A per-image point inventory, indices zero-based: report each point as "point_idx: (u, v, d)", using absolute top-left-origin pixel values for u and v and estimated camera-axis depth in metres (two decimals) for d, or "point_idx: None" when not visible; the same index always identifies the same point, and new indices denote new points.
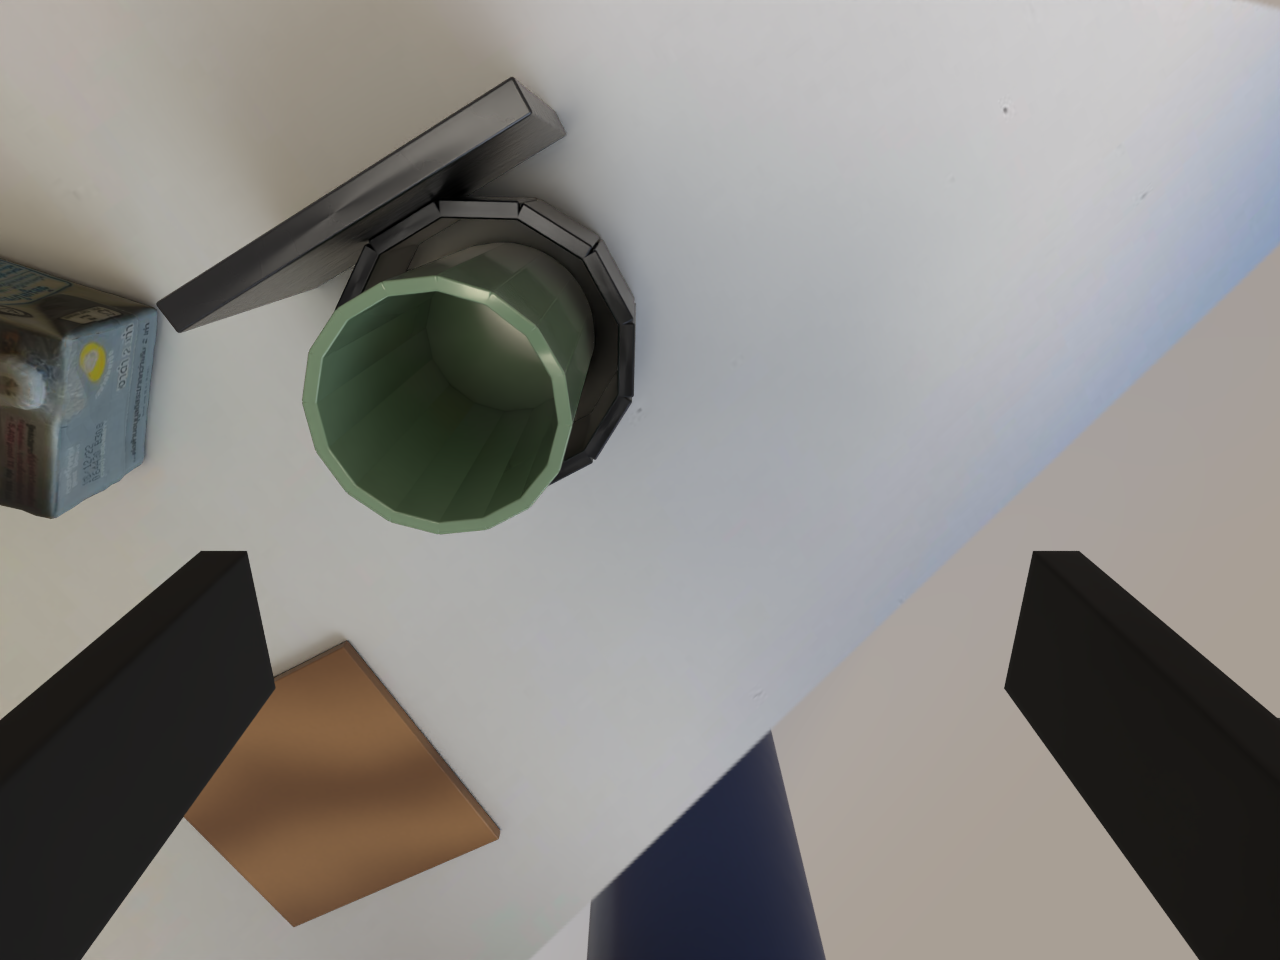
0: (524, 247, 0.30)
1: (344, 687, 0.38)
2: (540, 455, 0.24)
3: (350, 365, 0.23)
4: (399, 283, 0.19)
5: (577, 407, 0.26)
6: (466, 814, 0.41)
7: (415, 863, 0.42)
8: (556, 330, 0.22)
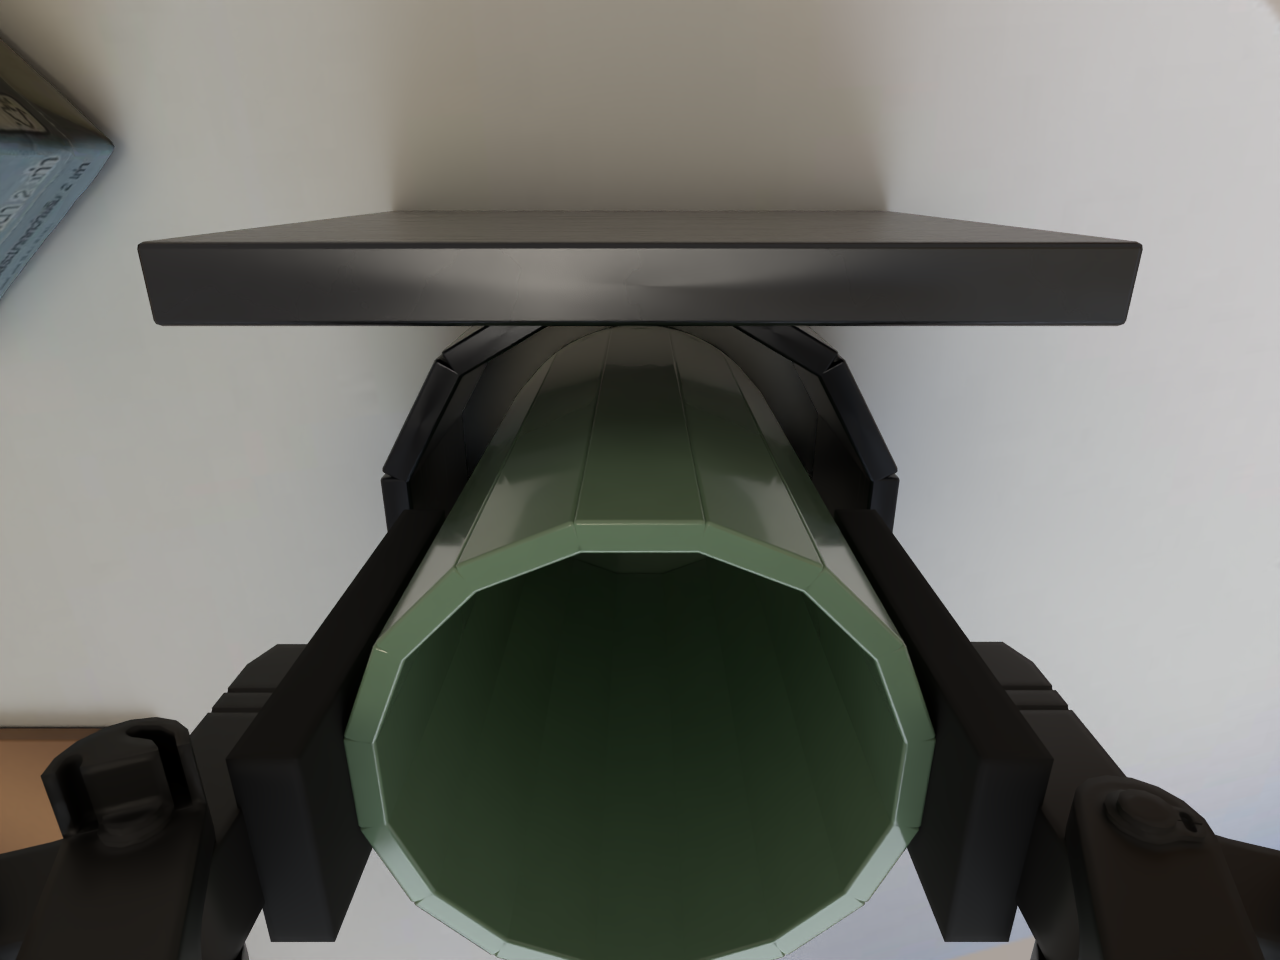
0: (741, 372, 0.19)
1: None
2: (699, 807, 0.13)
3: None
4: (741, 544, 0.08)
5: None
6: None
7: None
8: None
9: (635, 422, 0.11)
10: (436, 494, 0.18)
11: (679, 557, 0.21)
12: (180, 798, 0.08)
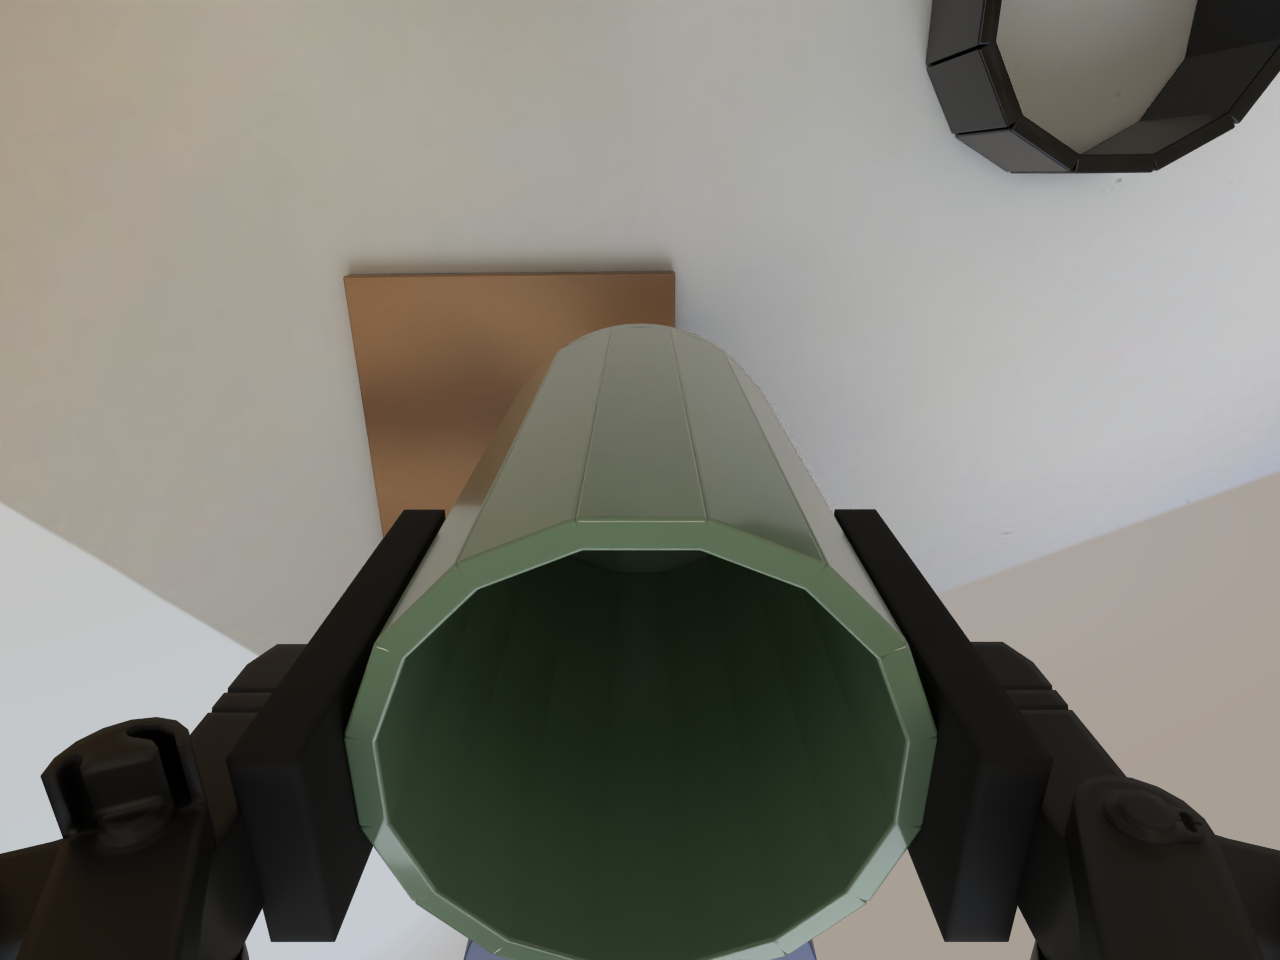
0: (742, 370, 0.19)
1: (642, 319, 0.33)
2: (700, 806, 0.13)
3: None
4: (743, 542, 0.08)
5: None
6: None
7: None
8: None
9: (636, 420, 0.11)
10: None
11: (679, 556, 0.21)
12: (180, 798, 0.08)
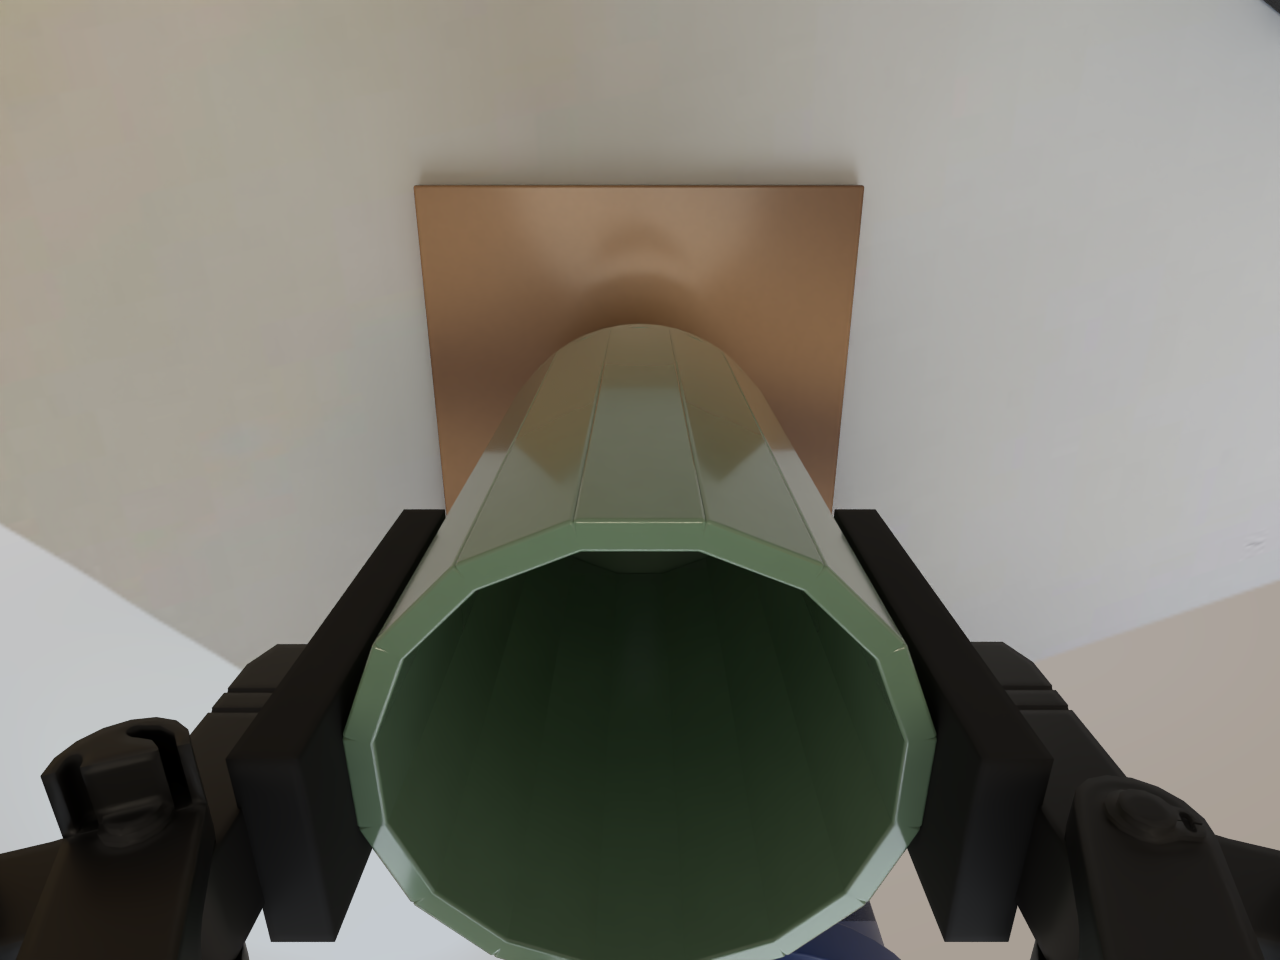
0: (741, 371, 0.19)
1: (815, 250, 0.24)
2: (699, 807, 0.13)
3: None
4: (742, 543, 0.08)
5: None
6: None
7: None
8: None
9: (635, 421, 0.11)
10: None
11: (679, 556, 0.21)
12: (180, 798, 0.08)
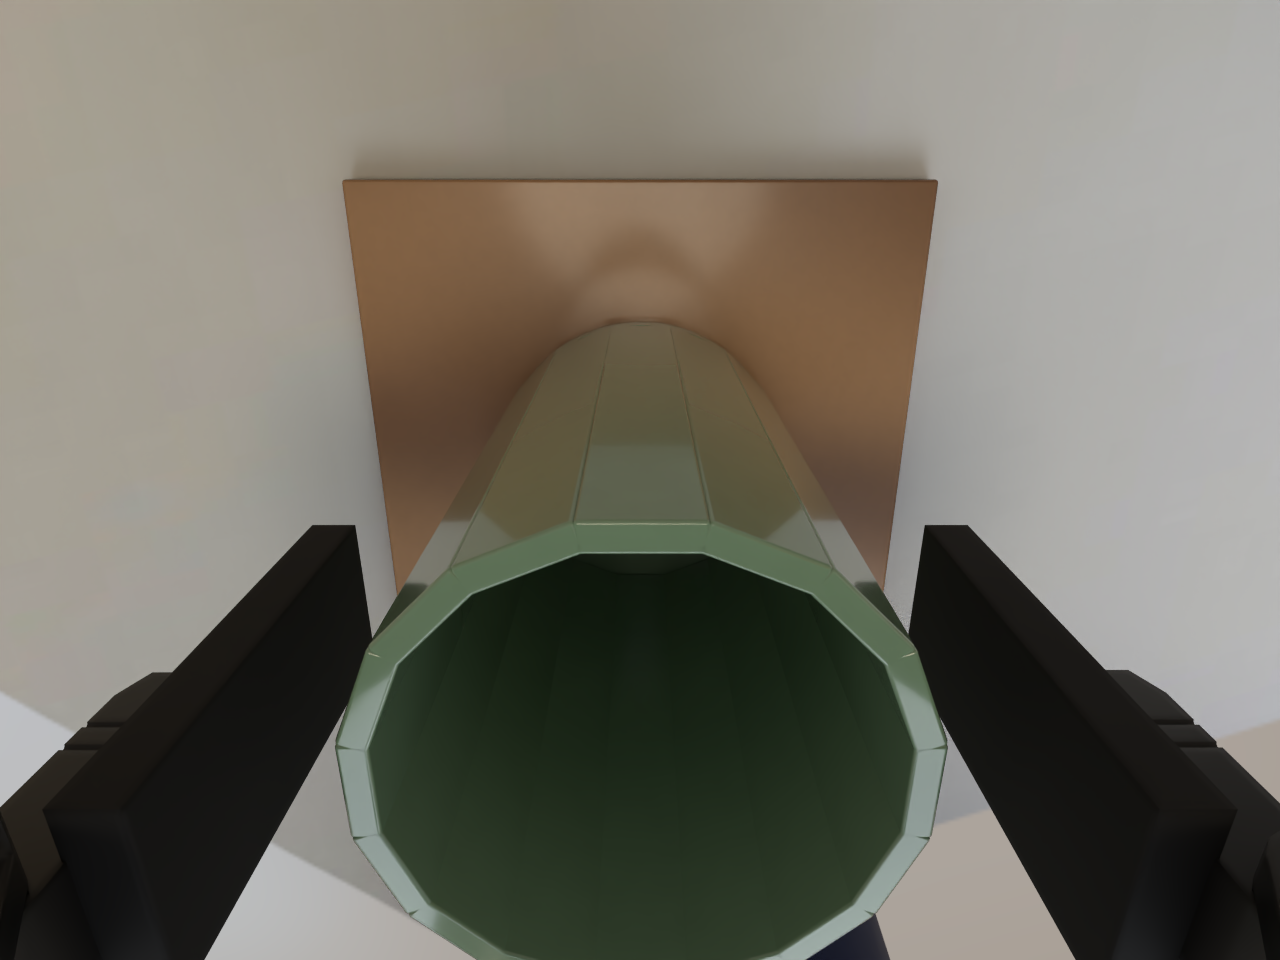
0: (743, 369, 0.19)
1: (871, 265, 0.19)
2: (702, 814, 0.13)
3: None
4: (747, 545, 0.08)
5: None
6: None
7: None
8: None
9: (636, 419, 0.11)
10: None
11: (680, 557, 0.21)
12: None
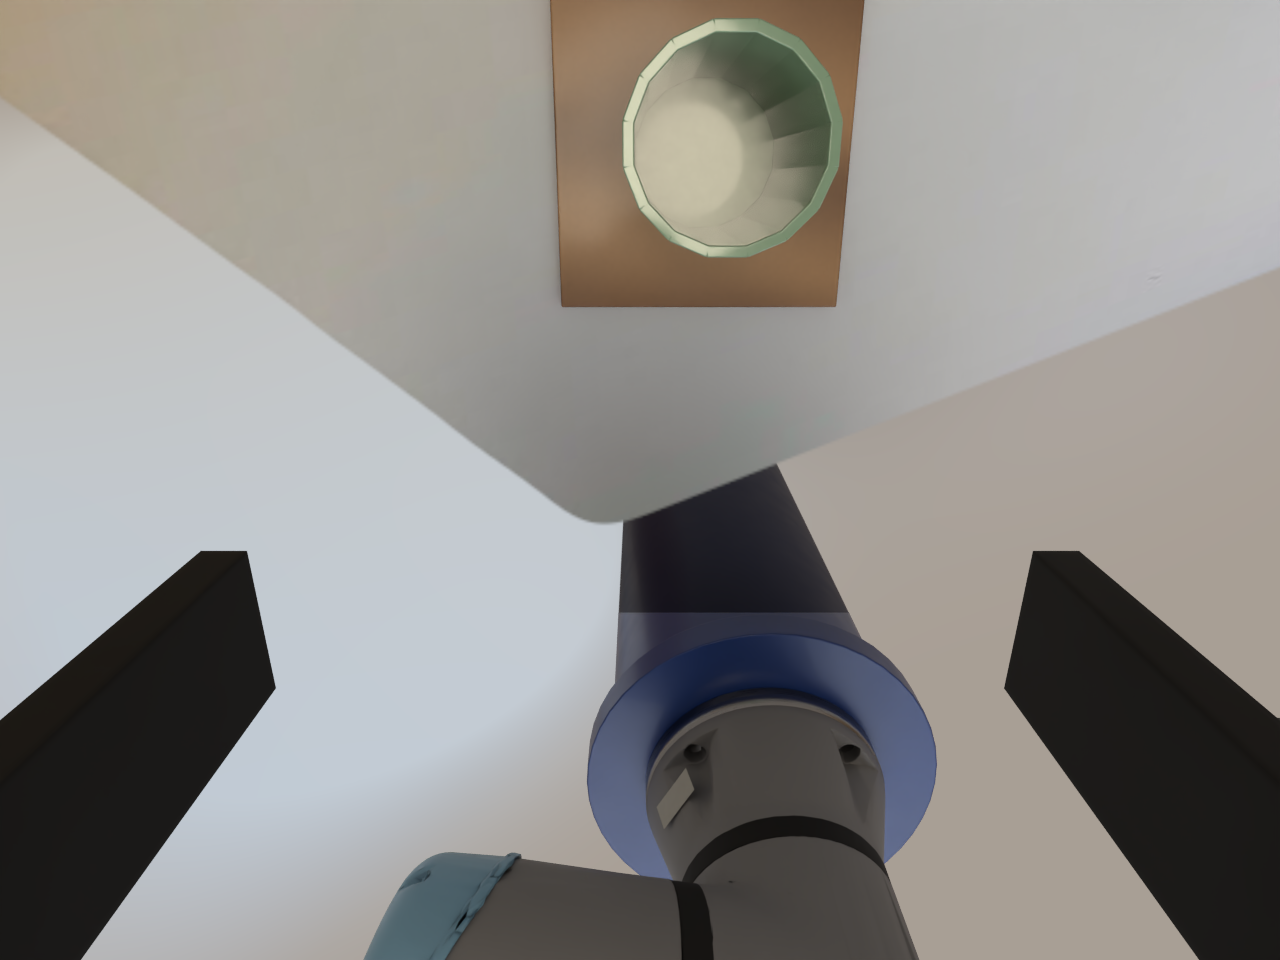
0: None
1: (830, 36, 0.34)
2: (747, 235, 0.29)
3: (659, 78, 0.26)
4: (771, 27, 0.24)
5: None
6: (828, 259, 0.38)
7: (739, 292, 0.39)
8: None
9: None
10: None
11: (725, 216, 0.37)
12: None
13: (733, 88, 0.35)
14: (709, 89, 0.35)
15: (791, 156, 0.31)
